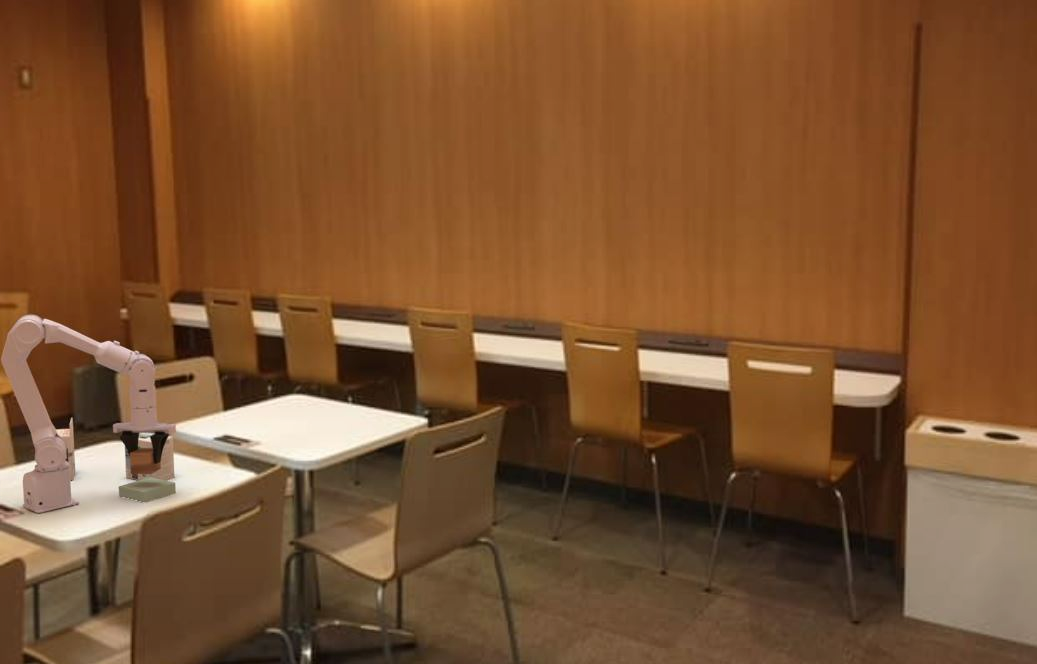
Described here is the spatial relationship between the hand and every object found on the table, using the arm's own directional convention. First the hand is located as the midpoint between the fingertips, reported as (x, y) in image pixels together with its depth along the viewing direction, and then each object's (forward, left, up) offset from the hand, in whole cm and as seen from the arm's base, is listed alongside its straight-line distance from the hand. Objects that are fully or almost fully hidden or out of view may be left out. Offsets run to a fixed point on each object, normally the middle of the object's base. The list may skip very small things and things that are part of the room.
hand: (146, 462), depth 226 cm
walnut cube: (0, 0, -2) cm, 2 cm away
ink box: (-6, +30, -8) cm, 32 cm away
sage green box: (0, 0, -8) cm, 8 cm away
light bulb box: (+8, +13, -8) cm, 17 cm away
